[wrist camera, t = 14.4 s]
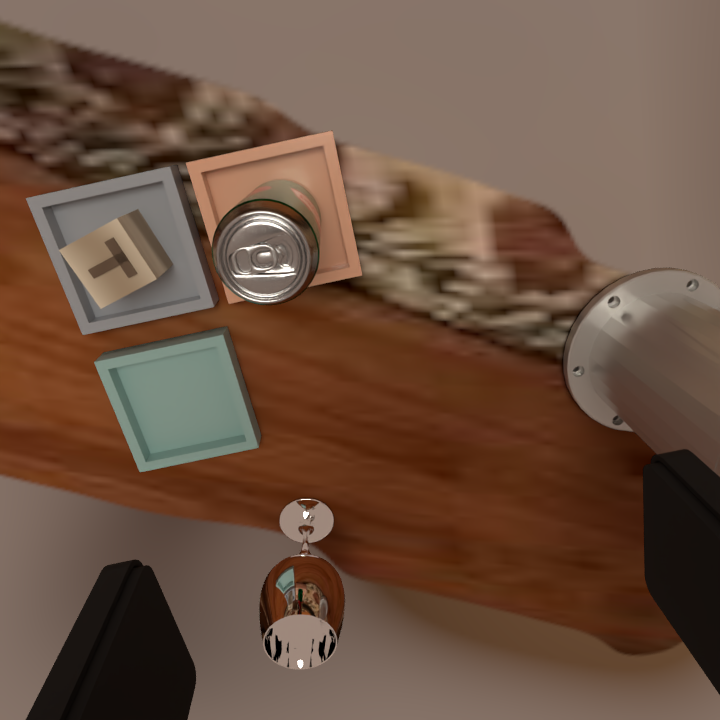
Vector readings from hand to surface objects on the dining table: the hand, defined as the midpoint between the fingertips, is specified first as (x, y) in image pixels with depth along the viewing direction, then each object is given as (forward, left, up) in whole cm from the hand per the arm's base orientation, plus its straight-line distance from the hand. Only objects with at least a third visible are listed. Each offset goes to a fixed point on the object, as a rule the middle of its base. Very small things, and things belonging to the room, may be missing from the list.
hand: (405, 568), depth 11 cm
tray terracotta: (+4, -3, -30) cm, 31 cm away
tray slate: (+14, -3, -30) cm, 34 cm away
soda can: (+4, -3, -30) cm, 30 cm away
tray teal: (+14, +8, -30) cm, 34 cm away
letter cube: (+14, -3, -30) cm, 33 cm away
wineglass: (+8, +21, -31) cm, 38 cm away
